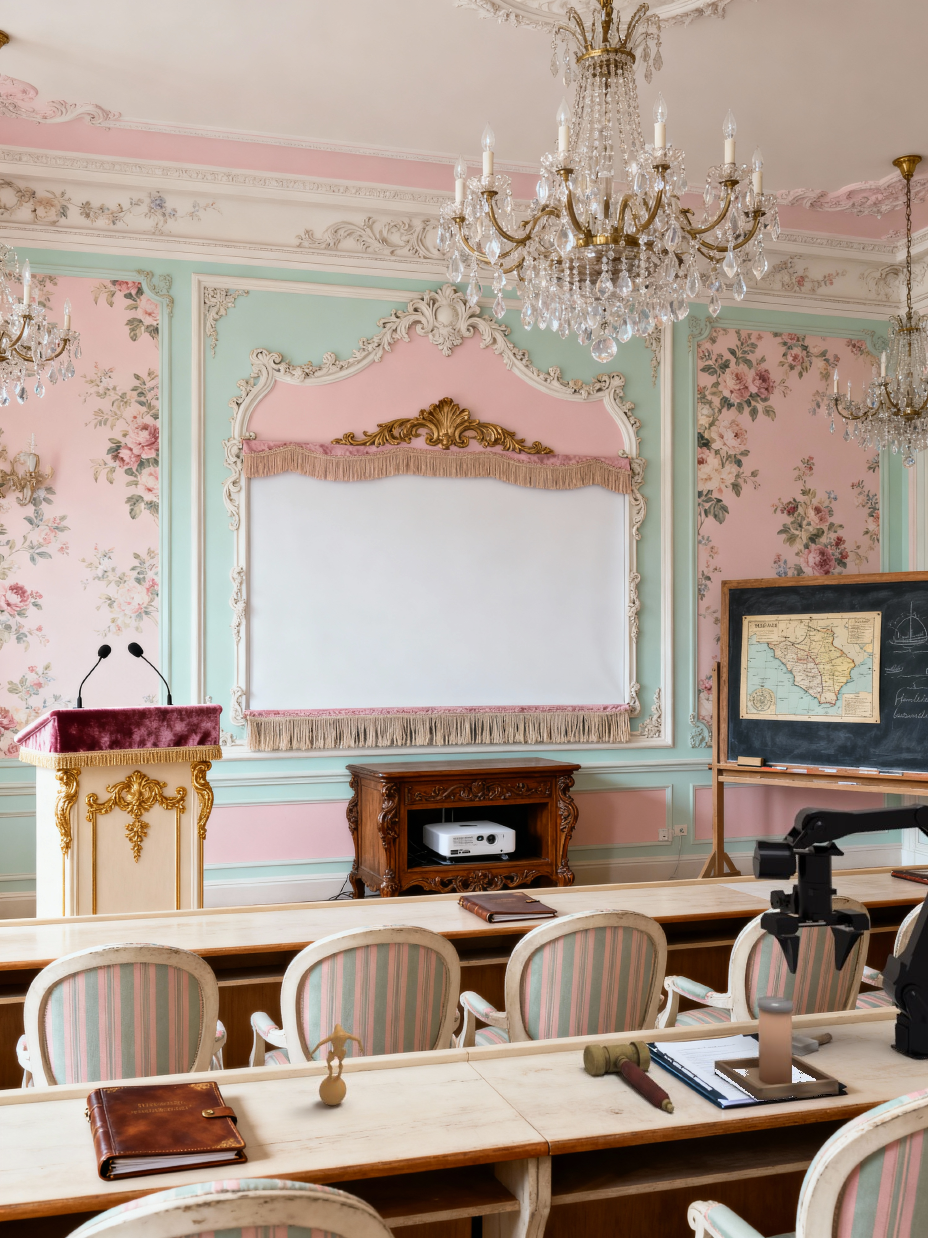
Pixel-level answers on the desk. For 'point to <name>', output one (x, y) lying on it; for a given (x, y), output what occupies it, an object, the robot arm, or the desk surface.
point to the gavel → (627, 1068)
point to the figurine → (334, 1086)
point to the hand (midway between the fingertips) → (815, 972)
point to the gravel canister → (775, 1040)
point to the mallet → (808, 1043)
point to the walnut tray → (779, 1091)
